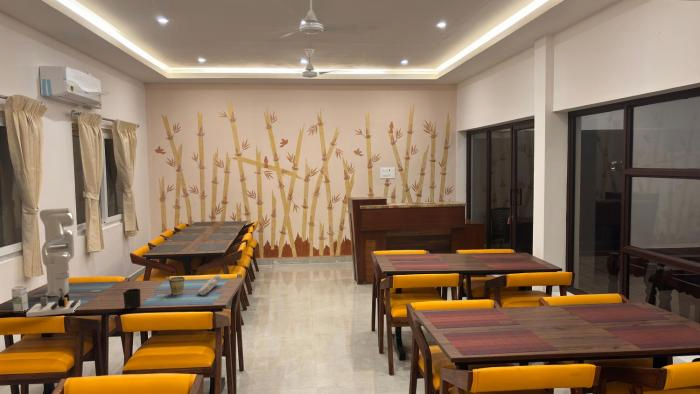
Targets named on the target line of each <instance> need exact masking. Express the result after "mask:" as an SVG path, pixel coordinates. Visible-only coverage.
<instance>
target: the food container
mask: <svg viewBox="0 0 700 394" xmlns="http://www.w3.org/2000/svg"><path fill="white" fill-rule="evenodd" d="M220 280H221V274H217V275H215V276H214V277H212V278H211V279H207V280H206V282H205V283H204V284H203V285H201V287H200V289H199V290H198V291H197V292H196V293H198V295H201V296H206V294H208V293H209V292H210V291H212V289H214V288H215V287H216V286H217V285H218V283H220Z"/></svg>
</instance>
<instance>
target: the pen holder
mask: <svg viewBox="0 0 700 394" xmlns="http://www.w3.org/2000/svg"><path fill="white" fill-rule="evenodd" d="M122 292H123V291H122ZM122 295H123V302H124V303H123V304H124V308H125V309H126V310H134V308H135V309H138V308H140V307H141V305H142V304H141V289H140V288H129V289H127V290H125V291H124V292H123V294H122ZM137 307H138V308H137Z"/></svg>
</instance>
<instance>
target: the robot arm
mask: <svg viewBox="0 0 700 394" xmlns="http://www.w3.org/2000/svg"><path fill="white" fill-rule="evenodd" d="M39 218H40V220H41V222H42V224H43V225H44V238H45V242H44V243H43V245H42V248H41V258H42V263H43V265H44V266H45V271H46V283H47V284H46V285H47V292H45V294H44V295H45V297H57V300H58V306H59V307H62V306H65V301H64V298H67V302H69V301H70V296H69V294H70V293H69V292H70V287H69V286H70V285H69V284H70V283H69V278H70V267H69V265H70V264H69V262H70V261H71V259H73V258H74V256H75V243H74V241H75V240H74V233H73V232H72V231H71V230H70V229H64V228H65V227H66V228H68V227H72V226H73V225H74V223H75V219H74V215H73V213H72V211H71V209H70V208H64V207H63V208H50V209H48V208H47V209H42V210H40V211H39Z"/></svg>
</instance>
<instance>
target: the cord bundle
mask: <svg viewBox="0 0 700 394" xmlns="http://www.w3.org/2000/svg"><path fill="white" fill-rule="evenodd" d="M79 300H80V298H79V297H76V298H75V300H73V301H74V302H73V303H72V304H71V305H70V307H71V308H73V307H74V306H75V305H76V303H77V302H78V301H79ZM54 302H55V303H54V304H53V305H52V306H51V309H52V310H53V309H55V307H56V306H57V305H58V299H57V300H56V301H54Z"/></svg>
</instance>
